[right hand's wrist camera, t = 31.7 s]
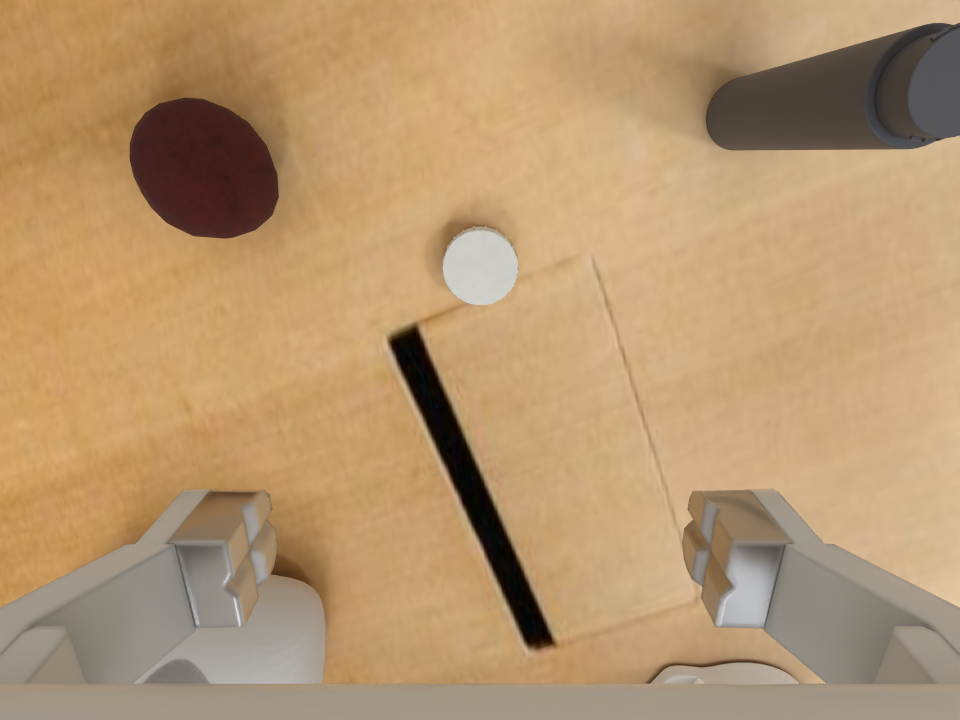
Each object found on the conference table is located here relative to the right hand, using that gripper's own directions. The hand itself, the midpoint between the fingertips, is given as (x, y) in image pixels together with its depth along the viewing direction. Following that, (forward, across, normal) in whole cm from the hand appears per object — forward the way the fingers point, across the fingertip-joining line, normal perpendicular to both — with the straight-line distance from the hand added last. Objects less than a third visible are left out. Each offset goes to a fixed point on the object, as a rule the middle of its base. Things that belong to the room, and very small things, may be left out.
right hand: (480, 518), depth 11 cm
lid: (+26, 0, 0) cm, 26 cm away
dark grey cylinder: (+27, +16, +9) cm, 33 cm away
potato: (+27, -15, +5) cm, 32 cm away
